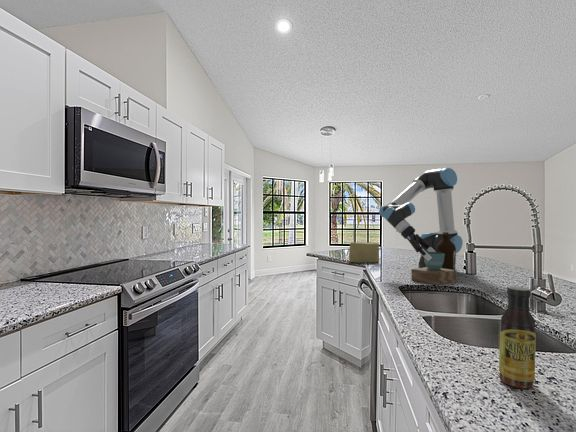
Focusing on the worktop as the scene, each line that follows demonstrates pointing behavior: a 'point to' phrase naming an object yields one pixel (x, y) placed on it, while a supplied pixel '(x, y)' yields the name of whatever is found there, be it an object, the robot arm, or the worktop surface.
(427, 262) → the flower pot
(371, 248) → the cheese
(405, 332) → the worktop surface
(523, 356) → the sauce bottle
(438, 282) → the walnut base
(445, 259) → the olive oil
